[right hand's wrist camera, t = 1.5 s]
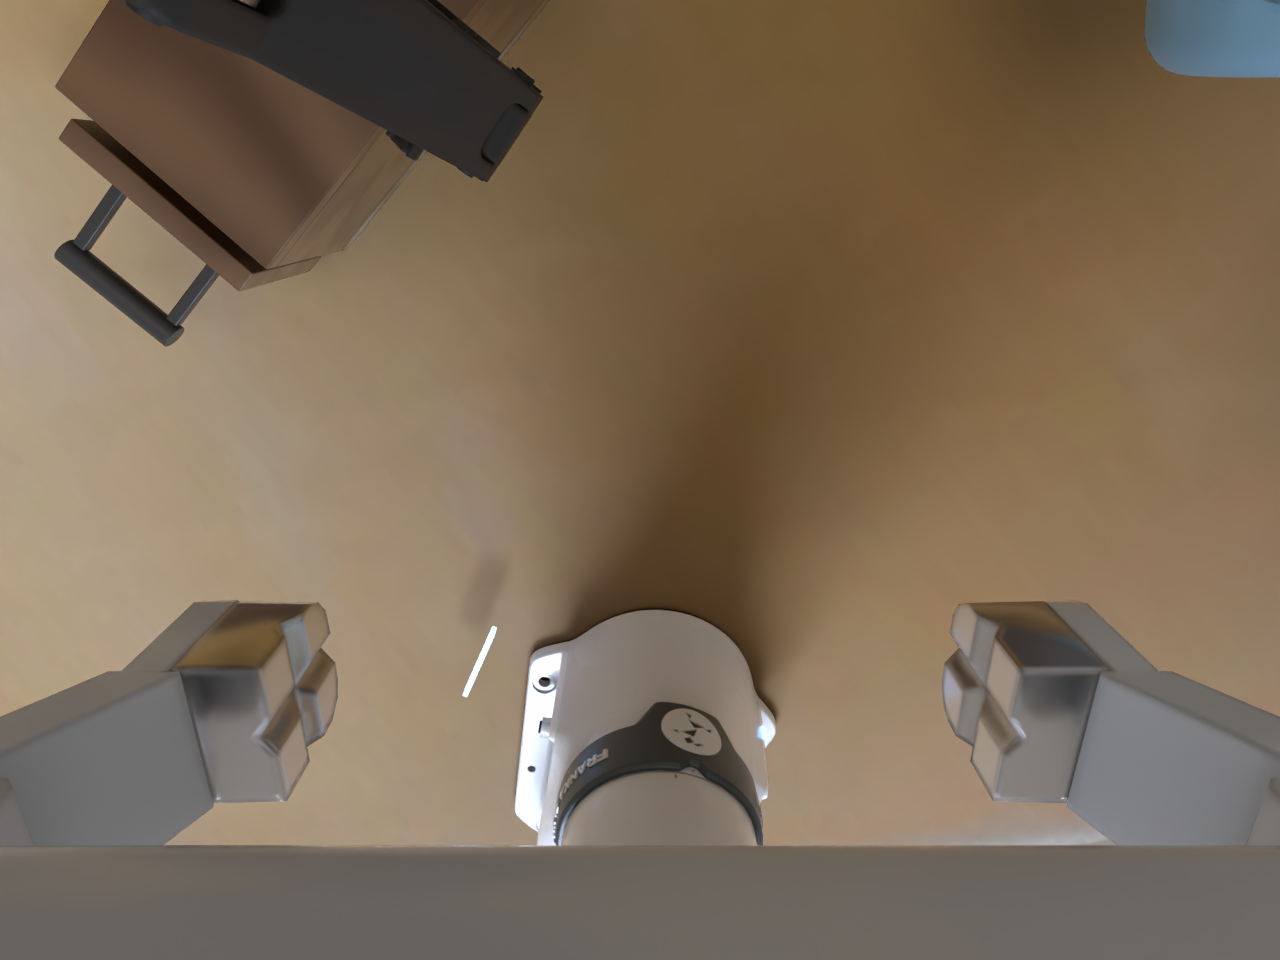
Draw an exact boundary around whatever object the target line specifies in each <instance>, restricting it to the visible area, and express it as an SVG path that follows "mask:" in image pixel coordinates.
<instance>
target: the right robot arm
mask: <svg viewBox="0 0 1280 960" xmlns="http://www.w3.org/2000/svg"><path fill="white" fill-rule="evenodd" d="M496 629H497V628H496V627H494V626H493V627H492V629H491V631H490V633H489V635H488V638H487V640H486V642H485V644H484V647H483V649H482V651H481V653H480V656H479V658H478V660H477V662H476V665H475V667H474V669H473V671H472V674H471V676H470V678H469V680H468V683H467V685H466V687H465V690H464V693H463V696H465V697H467V696H468V694H469V691H470V689H471V687H472V685H473V682H474V680H475V678H476V676H477V674H478V671H479V669H480V667H481V665H482V662H483V660H484V658H485V656H486V654H487V651H488V649H489V647H490V645H491V642H492V640H493V638H494V636H495V632H496ZM329 634H330V630H329V625H328V620H327V615H326V611H325V609H324V608H323V607H322V606H321V605H320V604H319V603H318V602H265V601H242V602H240V601H238V600H229V601H202V602H195V603H193V604H192V605H191V606H190V607H189V608H188V609H187V610H186V611H185V612H184V613H183V614H181V615H180V616H179V617H178V618H177V619H176V620H175V621H174V622H173V623H172V624H171V625H170V626H169V627H168V628H167V629H166V630H165V631H163V632H162V633H161V634H160V635H159V636H158V637H157V638H156V639H155V640H154V641H153V642H152V643H151V644H150V645H149V646H148V647H147V648H145V649H144V650H143V651H142V652H141V653H140V654H139V655H138V656H137V657H136V658H135V659H134V660H133V661H132V662H131V663H130V664H129V665H127V666H126V667H125V668H124V669H123V670H122V671H118V672H106V673H103V674H101V675H99V676H96V677H94V678H92V679H89V680H87V681H84V682H82V683H80V684H77V685H75V686H73V687H70V688H68V689H66V690H63V691H61V692H58V693H56V694H54V695H51V696H49V697H47V698H44V699H42V700H39V701H37V702H35V703H32V704H30V705H28V706H25V707H23V708H20V709H18V710H16V711H13V712H11V713H9V714H6V715H4V716H2V717H0V960H1280V717H1278V716H1276V715H1273V714H1271V713H1269V712H1266V711H1264V710H1262V709H1259V708H1257V707H1255V706H1252V705H1250V704H1247V703H1245V702H1243V701H1240V700H1238V699H1236V698H1233V697H1231V696H1229V695H1226V694H1224V693H1221V692H1219V691H1217V690H1214V689H1212V688H1210V687H1207V686H1205V685H1203V684H1200V683H1198V682H1195V681H1193V680H1191V679H1188V678H1186V677H1184V676H1181V675H1179V674H1177V673H1174V672H1162V671H1158V670H1157V669H1156V668H1155V667H1154V666H1153V665H1152V664H1150V663H1149V662H1148V661H1147V660H1146V659H1145V658H1144V657H1143V656H1142V655H1141V654H1140V653H1139V652H1138V651H1137V650H1136V649H1135V648H1134V647H1133V646H1131V645H1130V644H1129V643H1128V642H1127V641H1126V640H1125V639H1124V638H1123V637H1122V636H1121V635H1120V634H1119V633H1118V632H1117V631H1116V630H1115V629H1114V628H1112V627H1111V626H1110V625H1109V624H1108V623H1107V622H1106V621H1105V620H1104V619H1103V618H1102V617H1101V616H1100V615H1099V614H1098V613H1097V612H1096V611H1095V610H1093V609H1092V608H1091V607H1090V606H1089V605H1088V604H1087V603H1084V602H1081V601H1078V600H1067V601H1033V602H992V603H964V604H958V606H957V608H956V610H955V613H954V615H953V618H952V624H951V629H950V634H951V635H952V637H953V638H954V640H955V642H956V643H957V645H958V646H959V649H958V650H957V651H956V652H955V653H954V654H953V655H952V656H951V657H950V658H949V659H948V660H947V661H946V662H945V665H944V673H943V681H942V692H943V703H944V708H945V712H946V715H947V718H948V721H949V723H950V725H951V727H952V729H953V731H954V733H955V735H956V736H957V737H959V738H960V739H962V740H963V741H965V742H967V743H968V744H970V745H971V746H973V750H972V755H971V763H972V765H973V766H974V768H975V770H976V772H977V773H978V775H979V777H980V779H981V780H982V782H983V784H984V786H985V787H986V789H987V791H988V793H989V794H990V796H991V798H992V800H993V801H1007V802H1044V803H1067V805H1066V807H1068V808H1069V809H1070V810H1072V811H1073V812H1074V813H1076V814H1077V815H1078V816H1079V817H1081V818H1082V819H1083V820H1085V821H1086V822H1087V823H1089V824H1090V825H1091V826H1093V827H1094V828H1095V829H1096V830H1098V831H1099V832H1100V833H1102V834H1103V835H1104V836H1106V837H1107V838H1108V839H1110V840H1111V841H1112V842H1114V843H1115V844H1116V845H763V834H762V828H763V826H762V825H763V822H762V812H761V806H760V803H761V801H762V799H766V798H767V795H768V791H769V782H768V772H767V762H766V752H765V748H766V746H767V745H768V744H769V743H770V741H771V740H772V739H773V737H774V736H775V733H776V725H775V718H774V716H773V714H772V713H771V711H770V710H769V709H768V707H767V706H766V705H765V704H764V703H763V702H762V700H761V699H760V698H759V697H758V696H757V694H756V692H755V689H754V685H753V681H752V677H751V672H750V669H749V666H748V664H747V662H746V660H745V658H744V656H743V654H742V653H741V651H740V650H739V648H738V647H737V646H736V645H735V643H734V642H733V641H732V640H731V639H730V638H729V637H728V636H727V635H726V634H724V633H723V632H722V631H721V630H719V629H718V628H716V627H715V626H713V625H711V624H710V623H708V622H706V621H704V620H702V619H699V618H697V617H694V616H691V615H688V614H684V613H680V612H675V611H668V610H641V611H634V612H629V613H625V614H621V615H618V616H615V617H613V618H610V619H608V620H606V621H604V622H602V623H600V624H598V625H596V626H594V627H593V628H591V629H590V630H588V631H587V632H585V633H584V634H582V635H581V636H579V637H578V638H576V639H574V640H571V641H568V642H563V643H558V644H553V645H550V646H546V647H543V648H540V649H538V650H537V651H535V652H534V653H533V654H532V656H531V658H530V663H529V672H528V682H527V691H526V701H525V710H524V719H523V729H522V738H521V748H520V757H519V767H518V776H517V785H516V796H515V812H516V814H517V816H518V817H519V818H520V819H521V820H523V821H524V822H525V823H526V824H527V825H528V826H530V827H531V828H533V829H534V830H536V831H537V832H539V833H538V839H537V846H509V845H508V846H506V845H164V844H165V843H167V842H168V841H169V840H171V839H172V838H173V837H175V836H176V835H177V834H179V833H180V832H181V831H182V830H184V829H185V828H186V827H188V826H189V825H190V824H192V823H193V822H194V821H196V820H197V819H198V818H200V817H201V816H202V815H203V814H205V813H206V812H207V811H209V810H210V809H211V808H213V806H214V805H213V803H235V802H271V801H287V800H288V798H289V796H290V794H291V793H292V791H293V789H294V787H295V786H296V784H297V782H298V780H299V779H300V777H301V775H302V773H303V772H304V770H305V768H306V766H307V765H308V763H309V755H308V750H307V746H309V745H310V744H312V743H313V742H315V741H317V740H318V739H320V738H321V737H323V736H324V734H325V733H326V731H327V729H328V727H329V725H330V723H331V721H332V719H333V715H334V711H335V706H336V702H337V698H338V678H337V671H336V665H335V662H334V661H333V660H332V659H331V658H330V657H329V656H328V655H327V654H326V653H325V652H324V651H323V650H322V649H321V646H322V645H323V643H324V642H325V640H326V638H327V637H328V635H329ZM541 677H547V678H549V679H550V680H548V681H544V680H542V679H541Z"/></svg>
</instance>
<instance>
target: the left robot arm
mask: <svg viewBox="0 0 1280 960" xmlns="http://www.w3.org/2000/svg"><path fill="white" fill-rule="evenodd" d="M125 4H126V5H127V6H128V7H129V8H130V9H131V10H133V11H134V12H135V13H137V14H138V15H140V16H141V17H142V18H144V19H146V20H147V21H149V22H151V23H153V24H155V25H157V26H159V27H164V25H167V26H169V27H171V28H173V29H175V30H177V31H179V32H181V33H183V34H186V35H188V36H191V37H194V38H196V39H199V40H202V41H204V42H207V43H210V44H212V45H215V46H218V47H220V48H223V49H226V50H228V51H231V52H234V53H236V54H239V55H242V56H244V57H247V58H250V59H252V60H254V61H256V62H258V63H260V64H262V65H264V66H266V67H267V68H269V69H271V70H273V71H275V72H277V73H279V74H281V75H283V76H285V77H286V78H288V79H290V80H292V81H294V82H296V83H298V84H300V85H302V86H304V87H306V88H307V89H309V90H311V91H313V92H315V93H317V94H319V95H321V96H323V97H325V98H327V99H328V100H330V101H332V102H334V103H336V104H338V105H340V106H342V107H344V108H346V109H348V110H349V111H351V112H353V113H355V114H357V115H359V116H361V117H363V118H365V119H367V120H368V121H370V122H372V123H374V124H376V125H378V126H380V127H382V128H384V129H386V130H387V132H386V133H385V134H386V135H387V136H389V137H390V139H391V140H392V141H393V142H394V143H395V144H396V145H397V146H398V148H399V149H400V150H401V151H403V152H404V153H406V154H405V155H406V156H407V157H409V158H410V159H412V160H415V161H417V160H418V159H419V157H420V155H421V154H422V152H423V151H424V150H426V151H428V152H430V153H431V154H433V155H435V156H437V157H439V158H441V159H443V160H445V161H447V162H449V163H450V164H452V165H454V166H456V167H457V168H458V169H459V170H461V171H462V172H463V173H464V174H466V175H467V176H469V177H471V178H472V177H473V176H475V177H477V178H478V179H480V180H481V181H485V182H488V180H489V179H490V177H491V176H492V174H493V173H494V171H495V170H496V168H497V167H498V165H499V164H500V163H501V161H502V160H503V158H504V157H505V155H506V154H507V152H508V151H509V149H510V148H511V146H512V145H513V143H514V142H515V140H516V139H517V137H518V136H519V134H520V133H521V131H522V130H523V128H524V127H525V125H526V124H527V122H528V121H529V119H530V117H531V116H532V114H533V112H534V111H535V109H536V108H537V106H538V105H539V103H540V102H541V100H542V99H543V96H542V95H541V94H540V93H541V90H539V89H538V88H537V87H536V86H535V85H533V84H534V82H535V81H534V80H533V79H532V78H530V77H529V76H528V75H527V74H526V73H525V72H523V71H522V70H521V69H520V68H519V67H518V68H517V69H516V70H515V69H514V68H513V67H512V68H511V69H510V68H508V67H507V66H506V65H505V64H503V63H502V62H501V61H500V60H499V59H498V58H499V56H500V55H501V53H500V52H499V51H498V50H496V49H495V48H494V47H493V46H492V45H490V44H489V43H488V42H487V41H486V40H484V39H483V38H482V37H481V36H480V35H478V34H477V33H476V32H475V31H474V30H472V29H471V28H470V27H469V26H468V25H466V24H465V23H464V22H463V21H462V20H460V19H459V18H458V17H457V16H456V15H454V14H453V13H452V12H451V11H449V10H448V9H447V8H446V7H445V6H443V5H442V4H441V3H440V2H439V1H437V0H125ZM1144 38H1145V41H1146V46H1147V49H1148V52H1149V53H1150V54H1151V56H1152V57H1153V58H1154V60H1155V61H1156V62H1157V64H1158V65H1160V66H1161V67H1163V68H1164V69H1165V70H1167V71H1169V72H1172V73H1175V74H1179V75H1186V76H1201V77H1229V78H1271V77H1280V0H1147V1H1146V15H1145V29H1144ZM513 71H514V72H515V73H514V72H513ZM531 86H532V87H533V88H532V87H531ZM537 91H538V92H539V93H538V92H537Z"/></svg>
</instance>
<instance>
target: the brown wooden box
mask: <svg viewBox="0 0 1280 960" xmlns="http://www.w3.org/2000/svg"><path fill="white" fill-rule="evenodd" d="M437 1H439V2H440V3H441V4H442V5H443V6H445V7H446V8H447V9H448V10H449V11H451V12H452V13H453V14H454V15H456V16H457V17H458V18H459V19H460V20H462V21H463V22H464V23H465V24H466V25H468V26H469V27H470V28H471V29H472V30H474V31H475V32H476V33H477V34H478V35H480V36H481V37H482V38H483V39H484V40H486V41H487V42H488V43H489V44H490V45H492V46H493V47H494V48H495V49H496V50H498V51H499V52H500V53H501V55H500V56H499V58H498V59H499V60H500V61H501V59H502V58H503V57H504V56H505V54H506V53H507V52H508V51H509V49H510V48H511V47H512V46H513V45H514V43H515V42H516V41H517V40H518V38H519V37H520V36H521V35H522V33H523V32H524V31H525V30H526V29H527V27H528V26H529V25H530V24H531V22H532V21H533V20H534V19H535V17H536V16H537V15H538V14H539V12H540V11H541V10H542V9H543V8H544V6H545V5H546V4H547V3H548V1H549V0H437ZM55 87H56V88H57V89H58V90H59V91H60V92H61V93H62V94H64V95H65V96H66V97H67V98H68V99H69V100H71V101H72V102H73V103H74V104H75V105H76V106H78V107H79V108H80V109H81V110H82V111H83V112H84V113H86V114H87V115H88V116H89V117H90V118H91V119H93V120H94V121H95V122H96V123H97V124H98V125H100V126H101V127H102V128H103V129H104V130H105V131H107V132H108V133H109V134H110V135H111V136H112V137H113V138H115V139H116V140H117V141H118V142H119V143H120V144H122V145H123V146H124V147H125V148H126V149H127V150H129V151H130V152H131V153H132V154H133V155H134V156H136V157H137V158H138V159H139V160H140V161H141V162H142V163H144V164H145V165H146V166H147V167H148V168H149V169H151V170H152V171H153V172H154V173H155V174H156V175H158V176H159V177H160V178H161V179H162V180H163V181H165V182H166V183H167V184H168V185H169V186H170V187H171V188H173V189H174V190H175V191H176V192H177V193H178V194H180V195H181V196H182V197H183V198H184V199H185V200H187V201H188V202H189V203H190V204H191V205H192V206H194V207H195V208H196V209H197V210H198V211H199V212H200V213H202V214H203V215H204V216H205V217H206V218H207V219H209V220H210V221H211V222H212V223H213V224H214V225H216V226H217V227H218V228H219V229H220V230H221V231H223V232H224V233H225V234H226V235H227V236H228V237H229V238H231V239H232V240H233V241H234V242H235V243H236V244H238V245H239V246H240V247H241V248H242V249H243V250H245V251H246V252H247V253H248V254H249V255H250V256H252V257H253V258H254V259H255V260H256V261H257V262H258V263H260V264H261V265H262V266H263V267H264V268H265V269H270V268H274V267H278V266H282V265H286V264H290V263H294V262H298V261H302V260H306V259H310V258H313V257H317V256H321V255H325V254H329V253H333V252H337V251H340V250H342V251H343V250H347V249H348V248H349V246H350V245H351V244H352V243H353V242H354V240H355V239H356V238H357V237H358V235H359V234H360V233H361V232H362V230H363V229H364V228H365V227H366V226H367V224H368V223H369V222H370V221H371V219H372V218H373V217H374V216H375V214H376V213H377V212H378V211H379V210H380V208H381V207H382V206H383V205H384V203H385V202H386V201H387V200H388V198H389V197H390V196H391V195H392V194H393V192H394V191H395V190H396V189H397V187H398V186H399V185H400V184H401V182H402V181H403V180H404V179H405V178H406V176H407V175H408V174H409V173H410V171H411V170H412V169H413V168H414V166H415V165H416V164H417V163H418V162H419V160H420V159H421V158H422V157H423V155H424V154H425V153H426V152H427V151H426V150H424V151H423V152H422V154H421V155H420V157H419V159H418V160H417V161H415V160H412V159H410V158H409V157H407V156H406V155H405V154H406V153H404V152H403V151H401V150H400V149H399V148H398V146H397V145H396V144H395V143H394V142H393V141H392V140H391V139H390V137H389V136H387V135H386V134H385V133H386V132H387V130H386V129H384V128H382V127H380V126H378V125H376V124H374V123H372V122H370V121H368V120H367V119H365V118H363V117H361V116H359V115H357V114H355V113H353V112H351V111H349V110H348V109H346V108H344V107H342V106H340V105H338V104H336V103H334V102H332V101H330V100H328V99H327V98H325V97H323V96H321V95H319V94H317V93H315V92H313V91H311V90H309V89H307V88H306V87H304V86H302V85H300V84H298V83H296V82H294V81H292V80H290V79H288V78H286V77H285V76H283V75H281V74H279V73H277V72H275V71H273V70H271V69H269V68H267V67H266V66H264V65H262V64H260V63H258V62H256V61H254V60H252V59H250V58H247V57H244V56H242V55H239V54H236V53H234V52H231V51H228V50H226V49H223V48H220V47H218V46H215V45H212V44H210V43H207V42H204V41H202V40H199V39H196V38H194V37H191V36H188V35H186V34H183V33H181V32H179V31H177V30H175V29H173V28H171V27H169V26H167V25H164V27H159V26H157V25H155V24H153V23H151V22H149V21H147V20H146V19H144V18H142V17H141V16H140V15H138V14H137V13H135V12H134V11H133V10H131V9H130V8H129V7H128V6H127V5H126V4H125V0H109V2H108V4H107V5H106V7H105V8H104V10H103V11H102V13H101V15H100V16H99V18H98V19H97V21H96V23H95V24H94V26H93V27H92V29H91V30H90V32H89V34H88V35H87V37H86V38H85V40H84V41H83V43H82V45H81V46H80V48H79V49H78V51H77V53H76V54H75V56H74V57H73V59H72V60H71V62H70V64H69V65H68V67H67V68H66V70H65V71H64V73H63V75H62V76H61V78H60V79H59V81H58V83H57V84H56V86H55Z"/></svg>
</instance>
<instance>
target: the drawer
mask: <svg viewBox="0 0 1280 960" xmlns="http://www.w3.org/2000/svg"><path fill="white" fill-rule="evenodd" d="M59 140H60V141H62V142H63V143H64V144H65V145H66V146H67V147H69V148H70V149H71V150H72V151H73V152H75V153H76V154H77V155H78V156H79V157H80V158H82V159H83V160H84V161H85V162H86V163H88V164H89V165H90V166H91V167H92V168H93V169H95V170H96V171H97V172H98V173H99V174H101V175H102V176H103V177H104V178H105V179H107V180H108V181H109V182H110V183H111V184H112V186H111V187H110V189H109V190H108V192H107V193H106V195H105V196H104V198H103V199H102V201H101V202H100V203H99V205H98V206H97V208H96V209H95V211H94V212H93V214H92V215H91V217H90V218H89V219H88V221H87V222H86V224H85V225H84V227H83V228H82V230H81V231H80V233H79V234H78V236H77V237H76V238H75V240H69V241H67V242H65V243H64V244H62V245H61V246H60V247H59V248H58V249H57V251H56V253H55V259H57V260H58V261H59V262H60V263H62V264H63V265H64V266H65V267H67V268H68V269H69V270H70V271H72V272H73V273H74V274H75V275H77V276H78V277H79V278H80V279H82V280H83V281H84V282H85V283H87V284H88V285H89V286H90V287H92V288H93V289H94V290H95V291H97V292H98V293H99V294H100V295H102V296H103V297H104V298H105V299H107V300H108V301H109V302H110V303H112V304H113V305H114V306H115V307H117V308H118V309H119V310H120V311H122V312H123V313H124V314H125V315H127V316H128V317H129V318H130V319H132V320H133V321H134V322H135V323H137V324H138V325H139V326H140V327H142V328H143V329H144V330H145V331H147V332H148V333H149V334H150V335H152V336H153V337H154V338H155V339H157V340H158V341H159V342H160V343H162V344H163V345H164V346H169V345H171V344H173V343H174V342H175V341H176V340H178V339H179V337H180V336H181V335H182V334H183V332H184V328H183V327H182V326H181V325H180V324H182V323H183V322H184V320H185V319H186V318H187V316H188V315H189V314H190V312H191V311H192V310H193V308H194V307H195V306H196V305H197V303H198V302H199V301H200V299H201V298H202V297H203V295H204V294H205V293H206V291H207V290H208V289H209V287H210V286H211V285H212V284H213V282H214V281H215V280H216V278H217V277H218V276H219V275H220V276H221V277H223V278H224V279H225V280H226V281H227V282H228V283H230V284H231V285H232V286H233V287H234V288H236V289H237V290H238V291H243V290H246V289H249V288H253V287H256V286H260V285H263V284H267V283H270V282H273V281H277V280H280V279H284V278H287V277H290V276H294V275H297V274H301V273H304V272H307V271H310V270H311V269H312V267H313V266H314V265H315V264H316V262H317V261H318V260H319V259H320V257H321V256H317V257H313V258H310V259H306V260H302V261H298V262H294V263H290V264H286V265H282V266H278V267H274V268H270V269H265V268H264V267H263V266H262V265H261V264H260V263H258V262H257V261H256V260H255V259H254V258H253V257H252V256H250V255H249V254H248V253H247V252H246V251H245V250H243V249H242V248H241V247H240V246H239V245H238V244H236V243H235V242H234V241H233V240H232V239H231V238H229V237H228V236H227V235H226V234H225V233H224V232H223V231H221V230H220V229H219V228H218V227H217V226H216V225H214V224H213V223H212V222H211V221H210V220H209V219H207V218H206V217H205V216H204V215H203V214H202V213H200V212H199V211H198V210H197V209H196V208H195V207H194V206H192V205H191V204H190V203H189V202H188V201H187V200H185V199H184V198H183V197H182V196H181V195H180V194H178V193H177V192H176V191H175V190H174V189H173V188H171V187H170V186H169V185H168V184H167V183H166V182H165V181H163V180H162V179H161V178H160V177H159V176H158V175H156V174H155V173H154V172H153V171H152V170H151V169H149V168H148V167H147V166H146V165H145V164H144V163H142V162H141V161H140V160H139V159H138V158H137V157H136V156H134V155H133V154H132V153H131V152H130V151H129V150H127V149H126V148H125V147H124V146H123V145H122V144H120V143H119V142H118V141H117V140H116V139H115V138H113V137H112V136H111V135H110V134H109V133H108V132H107V131H105V130H104V129H103V128H102V127H101V126H100V125H98V124H97V123H96V122H95V121H91V120H80V119H71V120H70V122H69V123H68V125H67V126H66V128H65V129H64V131H63V132H62V134H61V135H60V137H59ZM127 197H128V198H129V199H130V200H131V201H133V202H134V203H135V204H136V205H137V206H138V207H140V208H141V209H142V210H143V211H144V212H146V213H147V214H148V215H149V216H150V217H152V218H153V219H154V220H155V221H156V222H157V223H159V224H160V225H161V226H162V227H163V228H165V229H166V230H167V231H168V232H169V233H170V234H172V235H173V236H174V237H175V238H176V239H178V240H179V241H180V242H181V243H182V244H183V245H185V246H186V247H187V248H188V249H189V250H191V251H192V252H193V253H194V254H195V255H197V256H198V257H199V258H200V259H201V260H202V261H204V262H205V263H206V266H205V267H204V268H203V270H202V271H201V272H200V274H199V275H198V276H197V278H196V279H195V280H194V282H193V283H192V284H191V286H190V287H189V288H188V290H187V291H186V292H185V294H184V295H183V296H182V298H181V299H180V300H179V302H178V303H177V304H176V306H175V307H174V308H173V310H172V311H171V312H170V314H169V315H167V314H166V313H165V312H164V311H162V310H161V309H160V308H159V307H157V306H156V305H155V304H154V303H153V302H151V301H150V300H149V299H148V298H146V297H145V296H144V295H143V294H141V293H140V292H139V291H138V290H137V289H135V288H134V287H133V286H132V285H130V284H129V283H128V282H127V281H125V280H124V279H123V278H122V277H121V276H119V275H118V274H117V273H116V272H114V271H113V270H112V269H111V268H109V267H108V266H107V265H106V264H105V263H103V262H102V261H101V260H100V259H98V258H97V257H96V256H95V255H93V254H92V253H91V252H90V251H89V250H90V249H91V248H92V246H93V245H94V243H95V242H96V241H97V239H98V238H99V236H100V235H101V233H102V232H103V231H104V229H105V228H106V226H107V225H108V223H109V222H110V221H111V219H112V218H113V216H114V215H115V213H116V212H117V210H118V209H119V208H120V206H121V205H122V203H123V202H124V200H125V199H126V198H127Z"/></svg>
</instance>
